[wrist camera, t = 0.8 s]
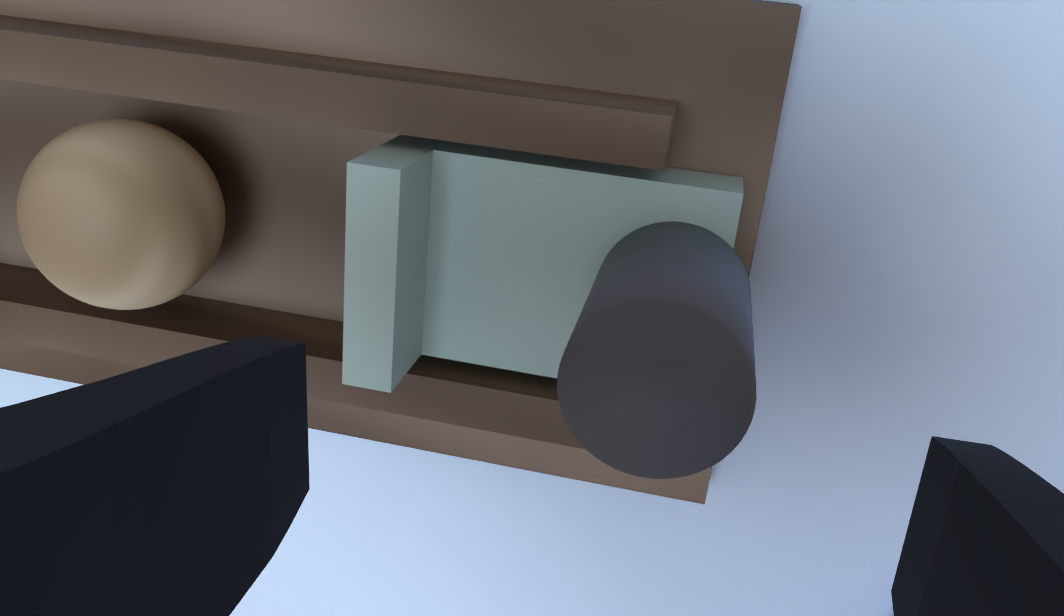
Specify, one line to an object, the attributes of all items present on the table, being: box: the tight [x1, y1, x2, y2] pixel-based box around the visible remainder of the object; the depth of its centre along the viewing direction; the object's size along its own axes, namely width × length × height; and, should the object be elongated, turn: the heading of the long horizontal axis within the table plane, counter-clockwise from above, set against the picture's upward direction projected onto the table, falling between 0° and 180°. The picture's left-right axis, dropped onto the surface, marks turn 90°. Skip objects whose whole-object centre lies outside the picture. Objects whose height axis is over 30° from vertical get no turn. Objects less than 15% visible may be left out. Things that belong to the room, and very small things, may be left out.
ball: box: [17, 118, 226, 310], centre depth 19 cm, size 4×4×4 cm
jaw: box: [342, 135, 756, 479], centre depth 17 cm, size 4×8×6 cm, turn 85°
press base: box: [0, 0, 801, 504], centre depth 20 cm, size 11×22×3 cm, turn 85°
